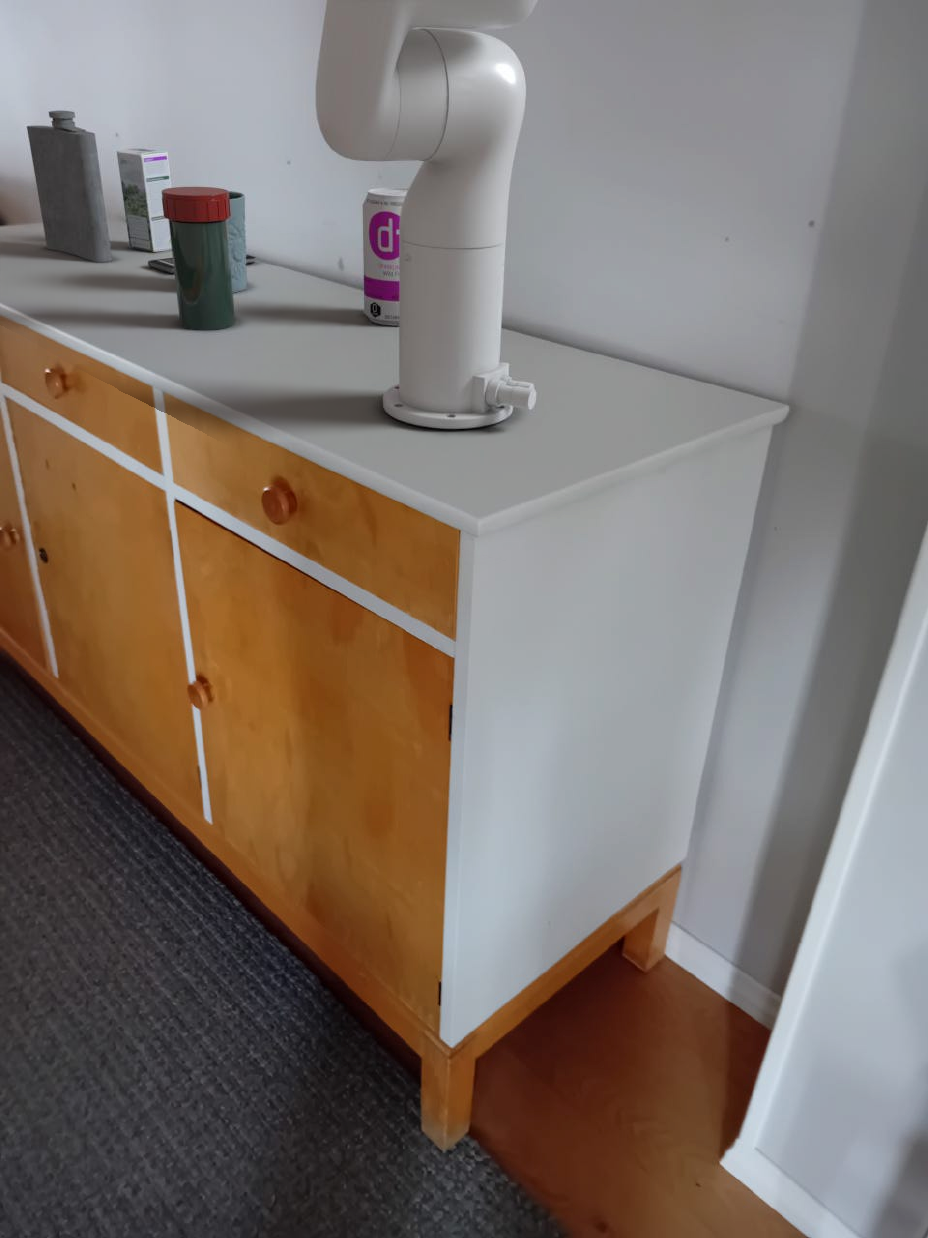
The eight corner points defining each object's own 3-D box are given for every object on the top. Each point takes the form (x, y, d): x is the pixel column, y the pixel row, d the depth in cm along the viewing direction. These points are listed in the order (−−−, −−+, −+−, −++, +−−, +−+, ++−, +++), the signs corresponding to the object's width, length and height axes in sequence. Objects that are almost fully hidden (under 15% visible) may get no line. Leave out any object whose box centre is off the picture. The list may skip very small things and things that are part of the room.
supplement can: (420, 329, 122) (422, 198, 115) (356, 323, 124) (353, 193, 116) (435, 314, 129) (438, 189, 122) (374, 309, 131) (373, 185, 123)
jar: (246, 321, 123) (236, 195, 116) (211, 332, 118) (199, 202, 110) (204, 313, 125) (192, 190, 118) (168, 324, 120) (153, 196, 113)
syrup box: (180, 247, 162) (170, 150, 155) (152, 252, 158) (140, 152, 151) (155, 243, 165) (144, 147, 158) (127, 248, 160) (114, 149, 153)
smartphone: (258, 257, 153) (170, 268, 144) (258, 262, 153) (171, 273, 144) (231, 250, 158) (145, 260, 148) (231, 254, 158) (146, 265, 149)
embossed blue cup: (259, 292, 136) (253, 198, 130) (185, 297, 133) (175, 200, 127) (240, 277, 144) (233, 188, 138) (170, 281, 140) (159, 190, 134)
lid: (244, 216, 117) (242, 190, 116) (201, 224, 111) (199, 197, 110) (193, 209, 120) (191, 184, 118) (149, 217, 114) (146, 191, 112)
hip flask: (43, 247, 159) (19, 106, 149) (66, 244, 161) (44, 106, 151) (97, 262, 150) (76, 114, 140) (121, 259, 153) (102, 113, 142)
